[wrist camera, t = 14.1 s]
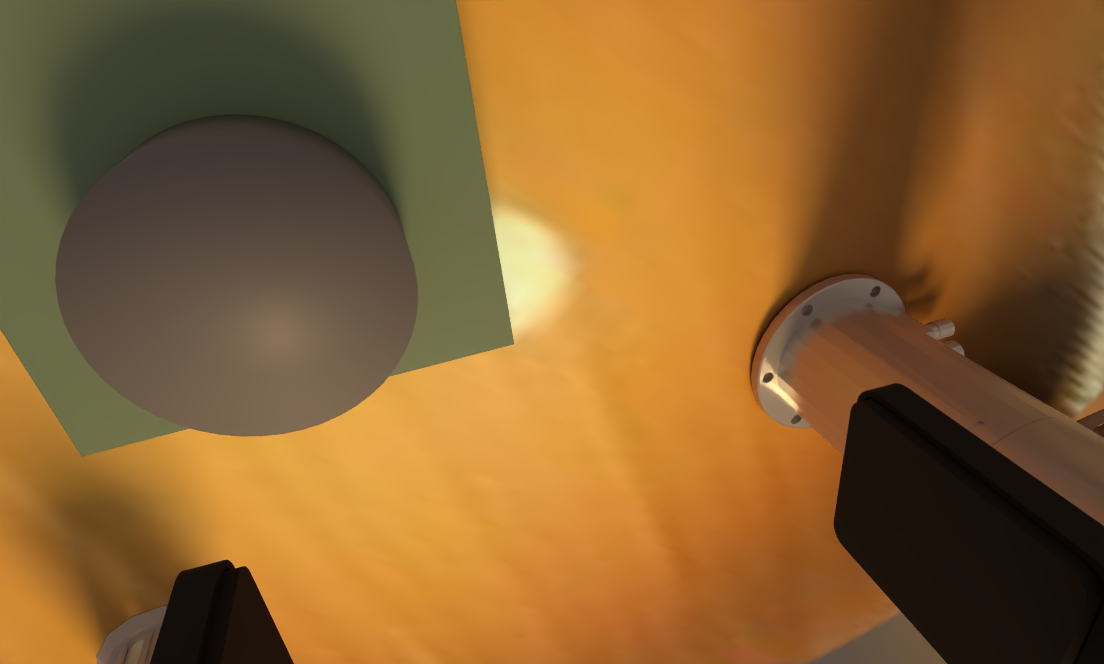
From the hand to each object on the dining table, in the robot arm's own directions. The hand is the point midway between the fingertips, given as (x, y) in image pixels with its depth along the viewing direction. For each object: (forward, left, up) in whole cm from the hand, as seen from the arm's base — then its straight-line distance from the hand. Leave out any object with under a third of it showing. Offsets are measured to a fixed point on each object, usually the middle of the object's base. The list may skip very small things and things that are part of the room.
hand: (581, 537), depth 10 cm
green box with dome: (+7, -4, -27) cm, 28 cm away
